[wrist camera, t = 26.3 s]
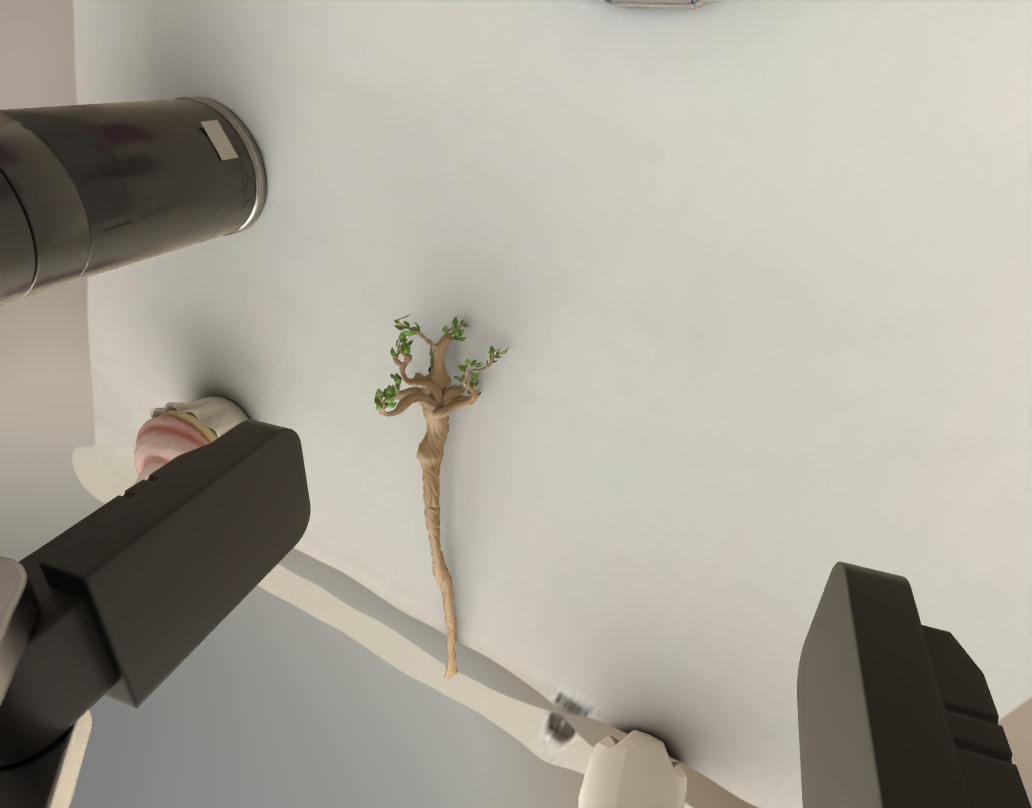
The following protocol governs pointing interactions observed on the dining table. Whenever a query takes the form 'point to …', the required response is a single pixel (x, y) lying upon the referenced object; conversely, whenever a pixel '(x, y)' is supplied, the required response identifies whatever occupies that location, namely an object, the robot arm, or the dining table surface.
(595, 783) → the bottle
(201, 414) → the cupcake
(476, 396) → the miniature bonsai tree
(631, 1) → the faceted ring wall
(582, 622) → the dining table surface
